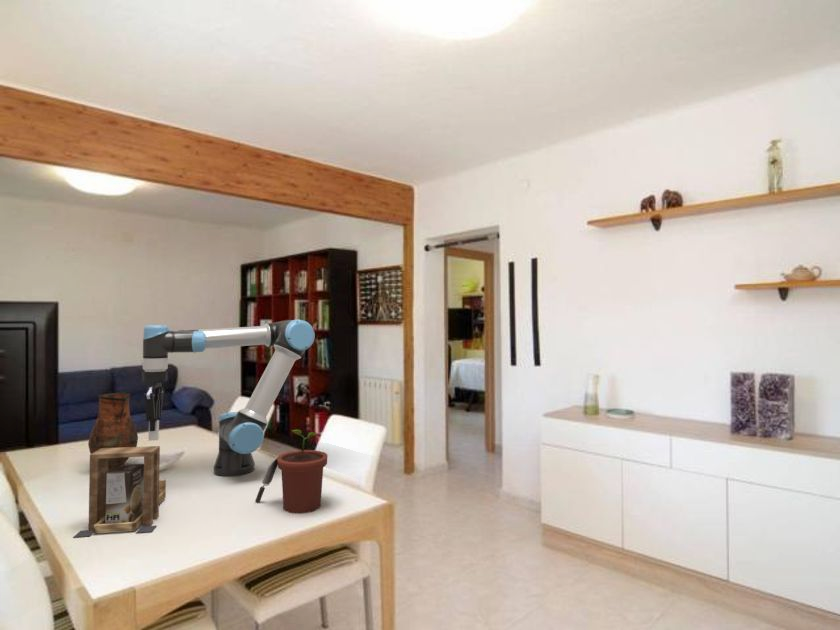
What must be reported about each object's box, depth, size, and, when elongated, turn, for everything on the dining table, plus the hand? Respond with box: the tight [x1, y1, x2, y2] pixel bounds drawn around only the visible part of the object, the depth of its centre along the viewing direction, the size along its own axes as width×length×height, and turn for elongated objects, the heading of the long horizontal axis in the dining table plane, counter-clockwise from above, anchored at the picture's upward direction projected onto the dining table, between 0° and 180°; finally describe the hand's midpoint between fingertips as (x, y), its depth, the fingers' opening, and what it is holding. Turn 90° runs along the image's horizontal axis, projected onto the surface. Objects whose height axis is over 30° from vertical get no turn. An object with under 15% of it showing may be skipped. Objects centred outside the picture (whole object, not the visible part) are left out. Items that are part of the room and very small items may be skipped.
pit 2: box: [135, 525, 158, 534], centre depth 137 cm, size 4×4×1 cm
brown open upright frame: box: [88, 445, 161, 530], centre depth 141 cm, size 16×7×21 cm, turn 101°
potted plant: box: [255, 429, 329, 514], centre depth 157 cm, size 18×22×25 cm
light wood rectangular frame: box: [93, 478, 167, 534], centre depth 147 cm, size 11×26×6 cm, turn 11°
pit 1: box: [72, 529, 94, 539], centre depth 134 cm, size 4×4×1 cm
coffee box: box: [105, 463, 144, 524], centre depth 141 cm, size 9×6×16 cm
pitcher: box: [88, 392, 139, 472], centre depth 193 cm, size 17×21×30 cm
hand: (153, 439), depth 165 cm, fingers closed
